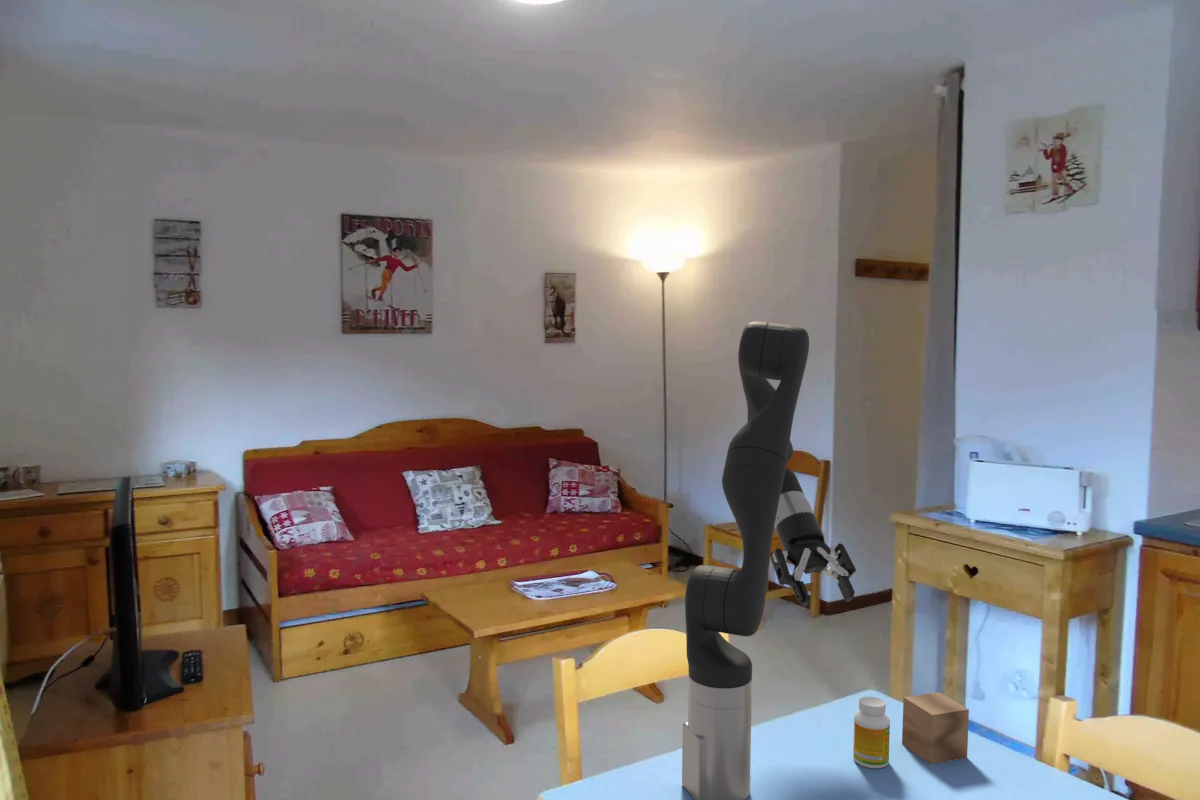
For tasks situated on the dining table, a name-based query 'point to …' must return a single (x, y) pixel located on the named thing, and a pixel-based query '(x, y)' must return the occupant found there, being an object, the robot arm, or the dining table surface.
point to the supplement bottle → (871, 733)
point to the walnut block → (935, 727)
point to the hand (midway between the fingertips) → (828, 601)
